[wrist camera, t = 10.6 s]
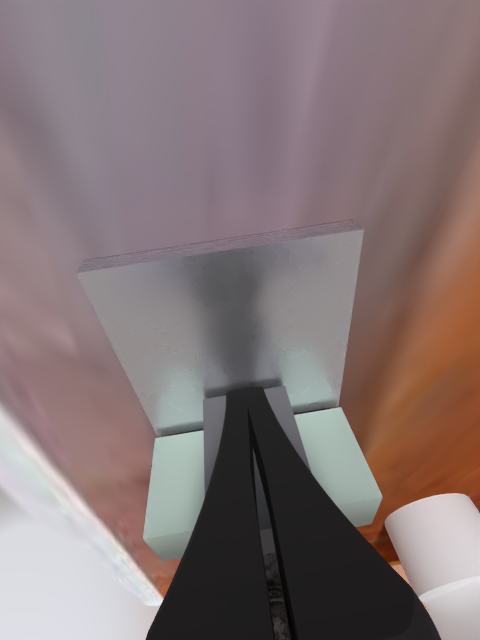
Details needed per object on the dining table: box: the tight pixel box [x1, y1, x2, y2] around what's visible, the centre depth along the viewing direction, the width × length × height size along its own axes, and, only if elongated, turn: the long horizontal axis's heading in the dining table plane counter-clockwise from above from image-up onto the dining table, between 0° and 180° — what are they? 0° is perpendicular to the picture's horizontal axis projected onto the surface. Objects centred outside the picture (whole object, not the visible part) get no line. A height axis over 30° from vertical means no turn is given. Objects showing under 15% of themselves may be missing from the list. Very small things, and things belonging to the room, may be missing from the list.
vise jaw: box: [143, 386, 383, 561], centre depth 14 cm, size 10×6×6 cm, turn 96°
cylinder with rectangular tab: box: [384, 493, 480, 640], centre depth 27 cm, size 9×9×12 cm
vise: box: [76, 220, 364, 436], centre depth 15 cm, size 10×22×6 cm, turn 6°
